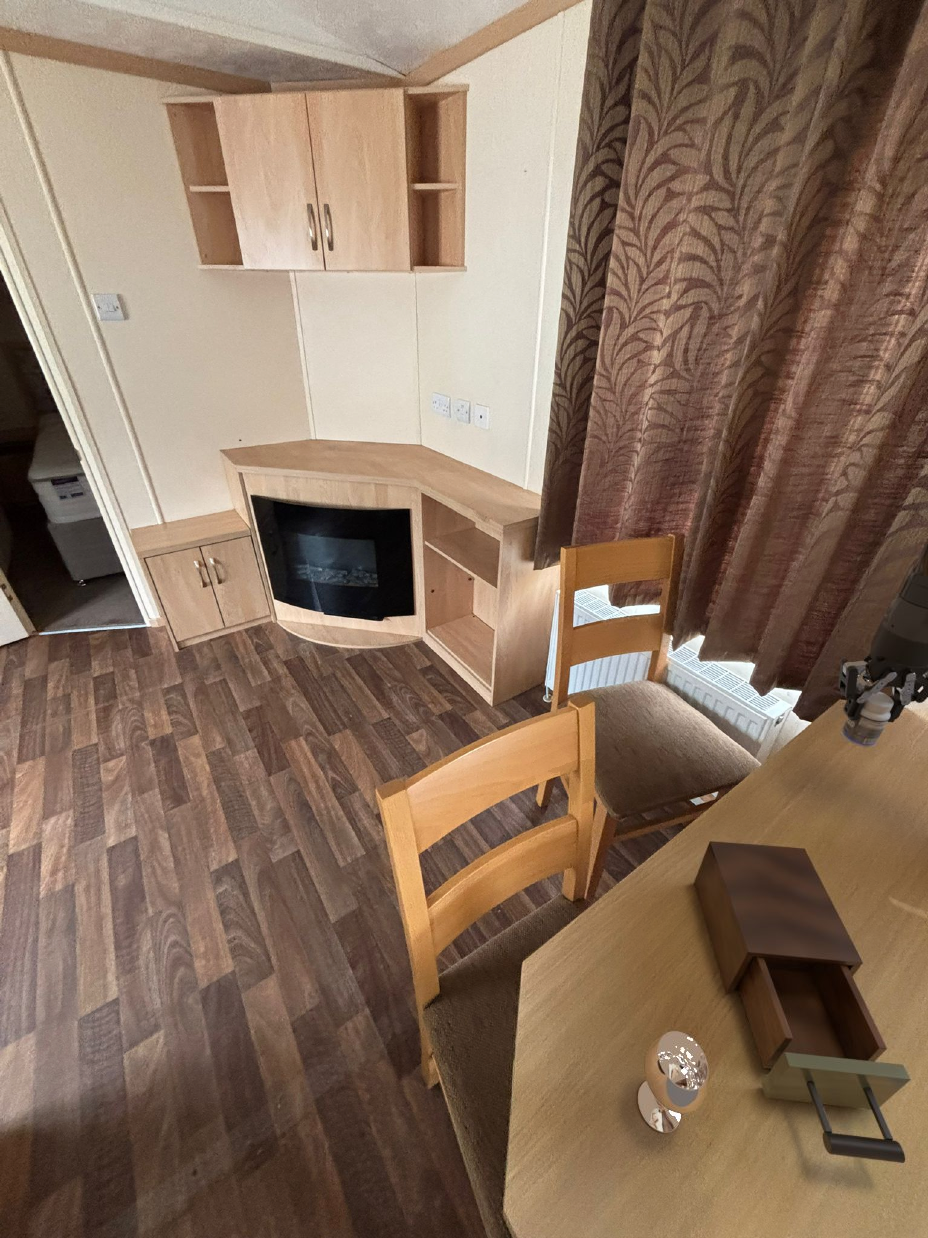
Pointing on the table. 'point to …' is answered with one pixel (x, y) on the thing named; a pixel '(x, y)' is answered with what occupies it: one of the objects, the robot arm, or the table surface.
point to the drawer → (821, 1046)
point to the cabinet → (768, 909)
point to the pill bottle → (869, 721)
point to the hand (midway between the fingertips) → (868, 717)
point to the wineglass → (672, 1081)
